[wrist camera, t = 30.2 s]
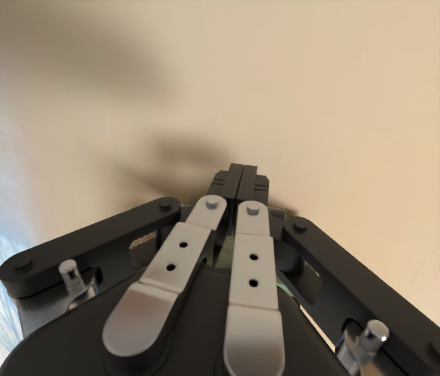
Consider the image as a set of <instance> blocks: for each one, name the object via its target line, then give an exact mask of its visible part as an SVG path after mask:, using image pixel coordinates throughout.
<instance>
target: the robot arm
mask: <svg viewBox="0 0 440 376" xmlns="http://www.w3.org/2000/svg"><path fill="white" fill-rule="evenodd" d="M257 167H258V166H251V165H245V166H244V165H242V164H234V163H231V165H230V168H229V171H223V170H221V171H219V172H218V173H217V174H216V175H215V177H214V179H213V181H212V184H211V186H210V188H209V190H208V193H207V195H206V196H203V197H201V198H200V199H199V200H198V202H197V203H196V205H193V206H181V204H180V202H179V201H178V200H177V199H175V198H172V197H163V198H159V199H156V200H154V201H151V202H148V203H146V204H143V205H141V206H138V207H136V208H133V209H130V210H128V211H125V212H123V213H120V214H118V215H115V216H112V217H110V218H107V219H105V220H102V221H99V222H97V223H94V224H92V225H89V226H87V227H84V228H81V229H79V230H76V231H74V232H71V233H69V234H66V235H63V236H61V237H58V238H56V239H53V240H51V241H48V242H45V243H43V244H40V245H38V246H35V247H33V248H30V249H27V250H25V251H22V252H20V253H17V254H15V255H13V256H12V257H10V258H9V259H7V260H6V261H5V262H4V263H3V264H2V265H1V266H0V280H1V282H2V283H3V285H4V286H5V288H6V289H7V293H8V295H9V297H10V298H11V300H12V301H13V303H14V304H15V306H16V307H17V309H18V314H19V319H20V324H21V328H22V333H23V338H24V339H23V340H22V341H21V342H20V343H19V344H18V345H17V346H16V347H15V348H14V349H13V350H12V351H11V353H10V354H9V355H8V357H7V358H6V359H5V361H4V362H3V364H2V365H1V367H0V376H440V327H439V326H437V325H436V324H435V323H434V322H433V321H431V320H430V319H429V318H428V317H426V316H425V315H424V314H423V313H422V312H420V311H419V310H418V309H417V308H416V307H414V306H413V305H412V304H411V303H409V302H408V301H407V300H406V299H405V298H403V297H402V296H401V295H400V294H399V293H397V292H396V291H395V290H394V289H392V288H391V287H390V286H389V285H388V284H386V283H385V282H384V281H383V280H381V279H380V278H379V277H378V276H377V275H375V274H374V273H373V272H372V271H371V270H369V269H368V268H367V267H366V266H364V265H363V264H362V263H361V262H360V261H358V260H357V259H356V258H355V257H354V256H352V255H351V254H350V253H349V252H347V251H346V250H345V249H344V248H343V247H341V246H340V245H339V244H338V243H337V242H335V241H334V240H333V239H332V238H330V237H329V236H328V235H327V234H326V233H324V232H323V231H322V230H321V229H320V228H318V227H317V226H316V225H315V224H313V223H312V222H311V221H309V220H308V219H305V218H302V217H289V218H287V219H286V220H285V221H282V220H279V219H277V218H275V217H273V216H272V215H271V214H270V213H269V211H268V208H267V206H268V191H269V180H268V179H267V177H266V176H262V175H257ZM233 228H234V229H233ZM151 232H154V237H155V238H152V239H150V240H148V241H146V242H144V243H142V244H140V245H138V246H136V247H134V248H132V249H130V250H129V247H130V245H131V243H132V242H133V241H135V240H136V239H139V238H141V237H143V236H145V235H147V234H149V233H151ZM232 232H233V237H235V242H234V252H233V261H232V268H217V265H218V262H219V259H220V257H221V254H222V251H223V248H224V242H225V240H226V236H232ZM307 263H308V264H309V265H310V266H311V267H312V268H313V269H314V270H315V271H316V272H317V273H318V275H319V276H320V277H319V276H318V275H317V274H316V273H315V272H314V271H313V270H312V269H311V268H310V267H309V266H308V265H307ZM276 275H277V276H278V278H279V279H280V280H281V281H282V282H283V284H284V285H285V286H286V287H287V288H288V290H289V291H290V292H291V293H292V295H293V296H294V297H295V298H296V299H297V301H298V302H299V303H300V304H301V305H302V307H303V308H304V309H305V310H306V312H307V313H308V314H309V315H310V316H311V318H312V319H313V320H314V321H315V322H316V324H317V325H318V326H319V327H320V329H321V330H322V331H323V332H324V333H325V335H326V336H327V337H328V338H329V339H330V341H331V342H332V343H333V344H334V346H335V353H334V352H333V351H332V349H331V348H330V347H329V345H328V344H327V343H326V342H325V340H324V339H323V338H322V336H321V335H320V334H319V332H318V331H317V330H316V328H315V327H314V326H313V325H312V323H311V322H310V321H309V319H308V318H307V317H306V315H305V314H304V313H303V311H302V310H301V309H300V307H299V306H298V305H297V304H296V302H295V301H294V300H293V298H292V297H291V296H290V295H289V294H288V293H287V292H286V291H285V290H283V289H282V288H281V287H279V286H278V285H277V284H276Z"/></svg>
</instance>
